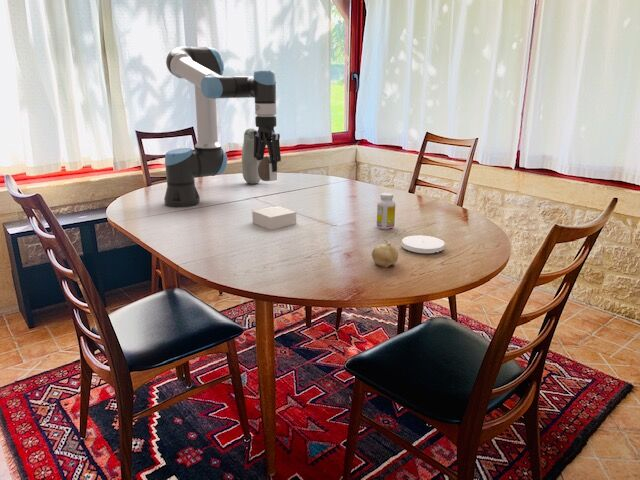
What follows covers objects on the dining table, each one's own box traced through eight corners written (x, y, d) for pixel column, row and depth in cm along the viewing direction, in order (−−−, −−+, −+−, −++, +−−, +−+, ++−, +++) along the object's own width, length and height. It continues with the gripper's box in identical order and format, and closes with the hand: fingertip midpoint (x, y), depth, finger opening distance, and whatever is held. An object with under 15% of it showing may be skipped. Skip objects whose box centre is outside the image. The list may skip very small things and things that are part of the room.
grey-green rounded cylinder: (239, 183, 263) (237, 128, 254) (255, 180, 270) (253, 127, 261) (250, 186, 256) (248, 130, 248) (266, 183, 263) (265, 128, 254)
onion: (400, 269, 150) (401, 246, 148) (373, 269, 150) (375, 247, 148) (394, 259, 158) (395, 238, 156) (369, 260, 157) (370, 238, 155)
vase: (273, 182, 185) (272, 158, 182) (255, 181, 186) (254, 157, 184) (278, 178, 191) (278, 155, 189) (261, 178, 193) (260, 155, 190)
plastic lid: (414, 239, 178) (415, 232, 177) (451, 248, 169) (452, 241, 169) (393, 249, 168) (393, 242, 167) (431, 259, 159) (432, 251, 158)
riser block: (252, 223, 195) (252, 210, 194) (277, 217, 203) (277, 205, 201) (270, 230, 187) (270, 217, 185) (296, 224, 194) (296, 212, 193)
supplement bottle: (395, 225, 192) (397, 193, 188) (392, 230, 186) (394, 196, 182) (378, 224, 195) (380, 191, 190) (374, 228, 189) (376, 195, 184)
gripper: (242, 114, 186) (244, 176, 194) (272, 117, 172) (274, 184, 179) (259, 113, 191) (261, 173, 198) (290, 116, 177) (291, 181, 184)
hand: (267, 178), depth 189 cm, fingers closed on vase, 7 cm apart
